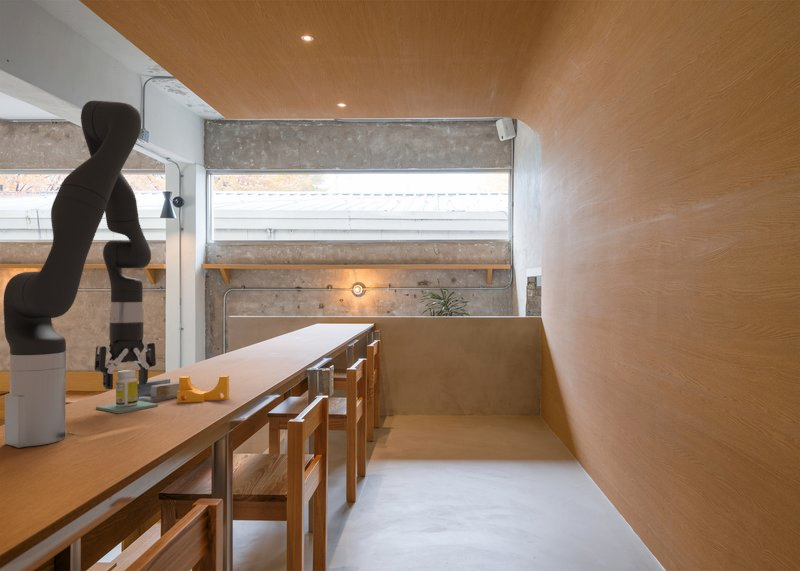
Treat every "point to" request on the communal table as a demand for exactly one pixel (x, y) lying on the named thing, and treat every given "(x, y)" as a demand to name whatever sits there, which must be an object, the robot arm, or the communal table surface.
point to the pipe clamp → (194, 395)
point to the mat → (117, 409)
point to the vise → (157, 390)
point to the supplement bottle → (126, 388)
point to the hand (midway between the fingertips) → (126, 386)
